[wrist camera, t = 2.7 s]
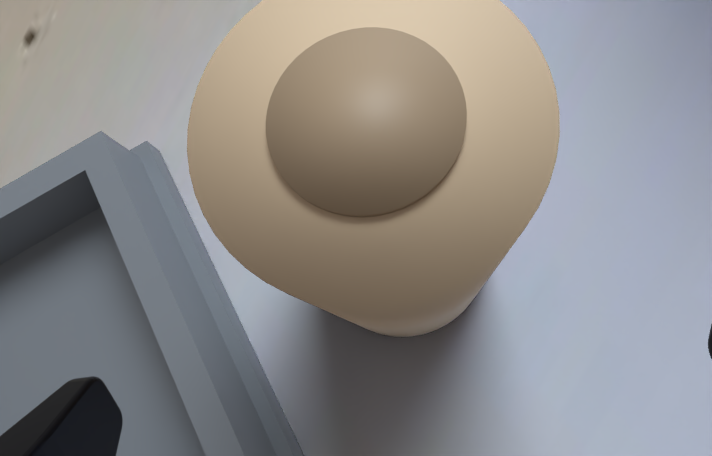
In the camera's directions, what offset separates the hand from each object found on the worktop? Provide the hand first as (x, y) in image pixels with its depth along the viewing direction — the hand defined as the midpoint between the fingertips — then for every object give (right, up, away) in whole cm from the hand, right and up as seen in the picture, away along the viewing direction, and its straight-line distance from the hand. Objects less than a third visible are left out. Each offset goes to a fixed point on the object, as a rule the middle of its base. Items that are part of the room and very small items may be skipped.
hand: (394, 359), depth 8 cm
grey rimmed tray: (-11, -4, +12) cm, 17 cm away
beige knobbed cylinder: (+1, +1, +11) cm, 11 cm away
